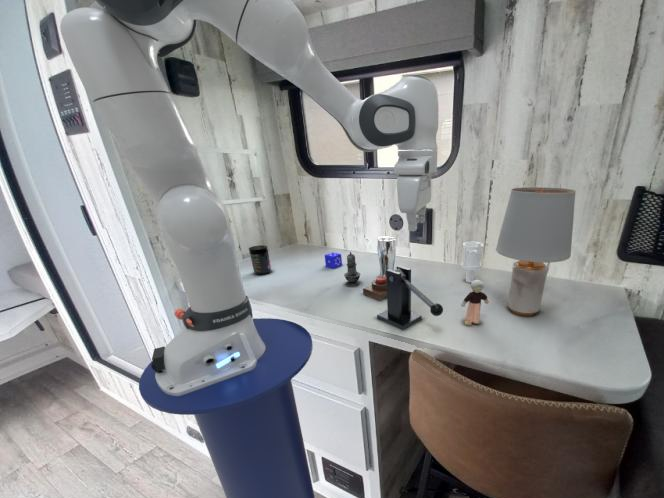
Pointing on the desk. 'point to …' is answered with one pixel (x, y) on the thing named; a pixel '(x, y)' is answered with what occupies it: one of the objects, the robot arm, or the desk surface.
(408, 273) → the bracket
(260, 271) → the supplement container
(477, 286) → the grandmother figurine
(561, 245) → the lamp
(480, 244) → the clear tall cylinder
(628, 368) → the desk surface
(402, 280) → the lever
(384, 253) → the beer glass
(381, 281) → the button
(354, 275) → the grey tall figure
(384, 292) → the control block
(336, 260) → the die
